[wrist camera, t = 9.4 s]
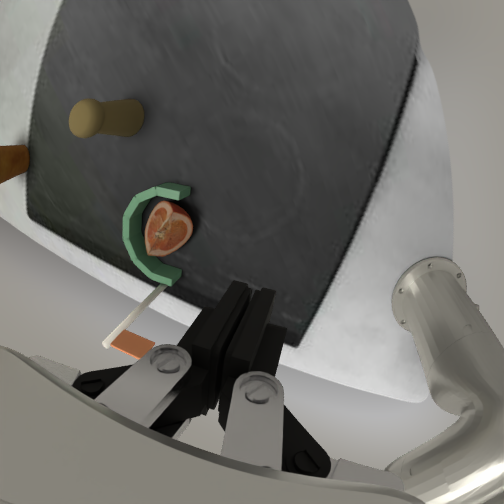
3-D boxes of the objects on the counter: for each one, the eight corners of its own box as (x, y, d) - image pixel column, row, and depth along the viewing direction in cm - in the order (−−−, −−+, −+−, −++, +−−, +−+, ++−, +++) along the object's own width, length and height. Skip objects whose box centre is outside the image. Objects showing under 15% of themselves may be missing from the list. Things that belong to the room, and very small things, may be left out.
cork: (145, 97, 35) (95, 91, 25) (143, 136, 37) (92, 141, 27) (114, 100, 36) (63, 98, 26) (112, 137, 38) (61, 143, 29)
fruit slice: (178, 256, 44) (162, 269, 39) (146, 228, 43) (128, 239, 39) (206, 216, 40) (192, 226, 35) (171, 187, 39) (153, 194, 35)
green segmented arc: (212, 191, 38) (135, 233, 22) (198, 289, 45) (140, 365, 29) (138, 176, 40) (47, 206, 24) (134, 268, 46) (64, 325, 30)
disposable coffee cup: (18, 131, 42) (-24, 139, 31) (37, 147, 43) (-9, 157, 32) (11, 168, 46) (-28, 180, 36) (29, 187, 47) (-13, 202, 36)
